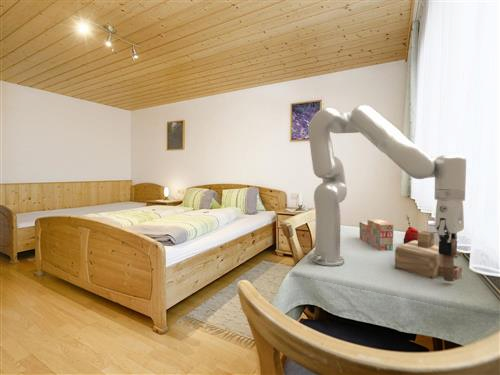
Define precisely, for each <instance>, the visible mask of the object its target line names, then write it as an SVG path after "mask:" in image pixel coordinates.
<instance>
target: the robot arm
mask: <svg viewBox="0 0 500 375" xmlns="http://www.w3.org/2000/svg"><path fill="white" fill-rule="evenodd" d="M307 130H308V139H309V140H308V141H309V148H310V156H311V163H312V170H313V173H314V175H315V176H316V177H317V178H319V179H322V182H321V183H320V184H318V185H317V187H316V188H315V190H314V192H313V201H314V210H315V240H314V241H315V248H314V249H313V253H311V254H308V255H307V259H308V260H309V261H310V260H311V261H312V262H314V263H315V264H318V265H321V266H322V265H323V266H327V267H328V266H329V267H331V266H333V267H334V266H340V265H343V264H345V258H344V257H343V256H342V255H341V207H340V204H341V203H342V202H343V201H345V200H346V197H347V194H348V192H347V191H348V189H347V182H346V176H345V170H344V165H343V162H342V161H341V160H340V159H339V158H338V156H337V157H336V156H335V154H334V148H333V141H332V137H331V133H332V134H356V133H357V134H358V133H360V134H361V135H362V136H363V137H365V138H366V139H367V140H368V141H370V143H371V144H372V145H373V146H374V147H375V148H377V149H378V150H379V151H380V152H381V153H383V154H384V155H386V156H387V157H388V158H389V159H390V160H391V161H392V162H394V164H396V165H397V166H398V167H399V168H400V169H401V170H402V171H404V173H405V174H406V175H408V176H409V177H411V178H412V179H416V180H424V179H430V178H431V179H432V178H434V196H433V197H434V200H435V201H436V206H435V220H434V221H435V228H436V230H437V231H438V235H439V254H443V255H448V256H451V255H452V243H450V242H451V238H453V239H456V252H458V251H457V247H458V233H460V232H462V231H463V230H464V225H465V222H464V221H465V220H464V216H465V215H464V214H465V213H464V203H463V202H464V201H466V175H467V158H466V157H465V155H461V154H448V155H446V154H445V155H439V156H429V155H428V154H427V153H425V152H424V150H421V149H420V148H419V146H417V145H416V144H415V143H413V142H412V141H411V140H409V139H408V138H407V137H406V136H405V135H404V134H403V133H402V132H401V131H400V129H398V128H397V127H396V126H394V125H393V124H392V123H391V122H389V121H388V120H387V119H386V118H384V117H383V116H382V115H381V114H380V113H378V112H377V111H376V110H375V109H373V108H372V107H371V106H369V105H367V104H366V105H365V104H362V105H357V106H356V107H354V109H353V110H352V111H347V112H342V111H340V110H338V108H335V107H331V106H327V107H326V106H325V107H323V108H320V109H319V110H318V111H316V112H315V114H314V115H313V116H312V118H311V119H310V122H309V124H308V129H307Z"/></svg>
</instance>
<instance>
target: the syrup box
mask: <svg viewBox="0 0 500 375" xmlns="http://www.w3.org/2000/svg"><path fill="white" fill-rule="evenodd" d="M426 231H430V232H435V236H434V244H439V235H438V231H437V230H436V228H435V220H428V221H427V229H426Z"/></svg>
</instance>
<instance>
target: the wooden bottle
mask: <svg viewBox="0 0 500 375" xmlns="http://www.w3.org/2000/svg"><path fill="white" fill-rule="evenodd" d="M450 243H452V255H451V256H448V255H443V276H442V277H443V278H442V279H443V280H444V281H446V282H451V283H452V282H455V279H454V262H455V261H454V259H455V258H454V255H456V239H453V238H451V242H450Z"/></svg>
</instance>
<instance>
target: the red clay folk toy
mask: <svg viewBox="0 0 500 375" xmlns="http://www.w3.org/2000/svg"><path fill="white" fill-rule="evenodd" d="M410 218H411V216H408V215H407V214H406V219H407V221H408V225H409V227H408V228H407V230H406V231H405V233H404V238H403V244H406V243H408V242H411V241H414V240H418V233H419V231H418V229H416V228H414V227H412V226H411V225H410V224H411V222H410V220H409V219H410Z"/></svg>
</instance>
